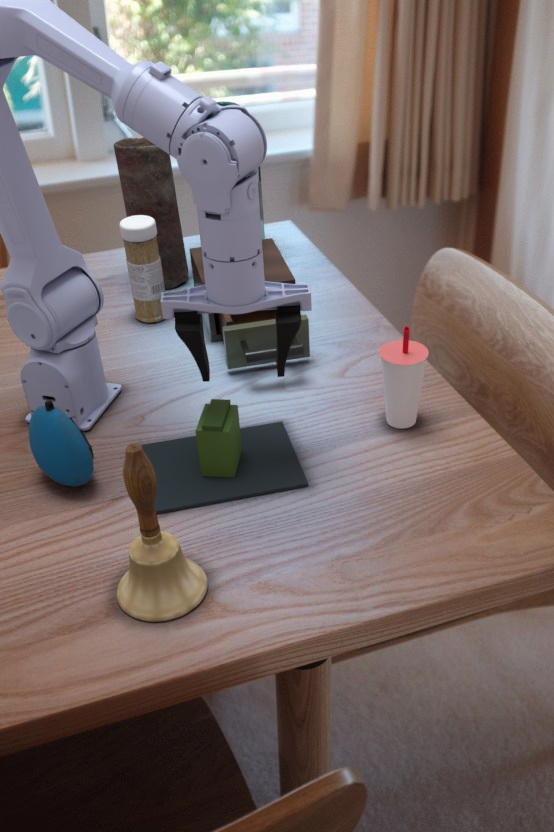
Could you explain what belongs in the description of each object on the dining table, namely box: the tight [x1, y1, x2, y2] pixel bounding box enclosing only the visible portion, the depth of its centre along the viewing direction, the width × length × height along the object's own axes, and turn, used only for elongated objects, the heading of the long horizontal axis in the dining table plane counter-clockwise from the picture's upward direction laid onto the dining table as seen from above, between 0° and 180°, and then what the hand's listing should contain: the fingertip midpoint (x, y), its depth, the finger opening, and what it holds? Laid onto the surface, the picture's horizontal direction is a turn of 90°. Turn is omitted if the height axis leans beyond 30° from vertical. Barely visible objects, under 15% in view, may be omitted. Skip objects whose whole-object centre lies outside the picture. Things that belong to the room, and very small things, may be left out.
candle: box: [113, 136, 189, 290], centre depth 126 cm, size 8×7×20 cm
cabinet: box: [189, 237, 297, 342], centre depth 122 cm, size 14×12×7 cm
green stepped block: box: [195, 398, 242, 478], centre depth 95 cm, size 5×4×6 cm
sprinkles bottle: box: [119, 215, 166, 324], centre depth 120 cm, size 5×5×13 cm
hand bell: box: [116, 442, 209, 622], centre depth 78 cm, size 8×8×16 cm
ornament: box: [28, 400, 95, 487], centre depth 93 cm, size 8×5×10 cm, turn 53°
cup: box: [378, 325, 430, 430], centre depth 100 cm, size 5×5×12 cm
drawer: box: [215, 310, 311, 370], centre depth 114 cm, size 17×10×5 cm, turn 16°
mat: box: [140, 421, 309, 515], centre depth 97 cm, size 12×16×1 cm
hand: (243, 374), depth 94 cm, fingers open, 7 cm apart
